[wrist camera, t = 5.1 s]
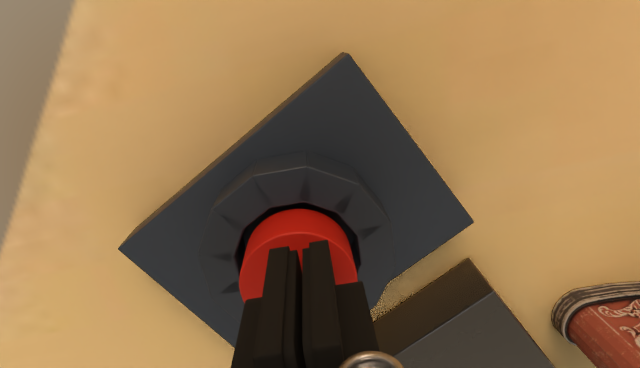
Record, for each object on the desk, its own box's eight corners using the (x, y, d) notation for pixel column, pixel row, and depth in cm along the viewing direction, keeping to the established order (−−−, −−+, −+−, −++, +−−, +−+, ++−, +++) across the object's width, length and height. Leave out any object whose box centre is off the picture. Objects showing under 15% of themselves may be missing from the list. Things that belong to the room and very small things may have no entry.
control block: (342, 51, 14) (356, 55, 11) (457, 205, 17) (497, 245, 13) (134, 228, 16) (93, 276, 13) (264, 342, 19) (257, 407, 15)
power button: (305, 186, 13) (306, 208, 11) (371, 259, 14) (381, 290, 12) (223, 250, 13) (213, 280, 12) (293, 315, 14) (292, 351, 13)
